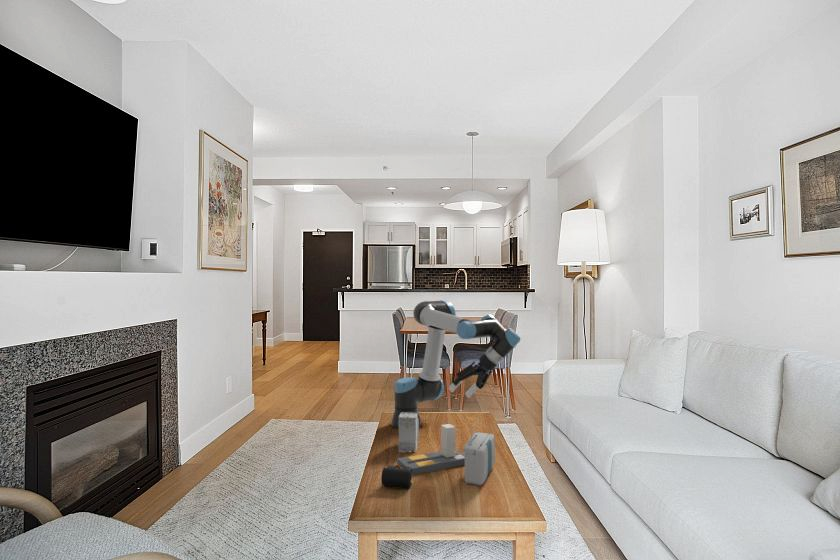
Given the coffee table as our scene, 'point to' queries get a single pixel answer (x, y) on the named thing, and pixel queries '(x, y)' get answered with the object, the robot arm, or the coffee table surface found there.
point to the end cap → (396, 477)
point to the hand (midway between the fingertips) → (458, 393)
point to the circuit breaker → (408, 431)
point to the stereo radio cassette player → (479, 457)
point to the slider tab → (448, 440)
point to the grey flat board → (431, 462)
